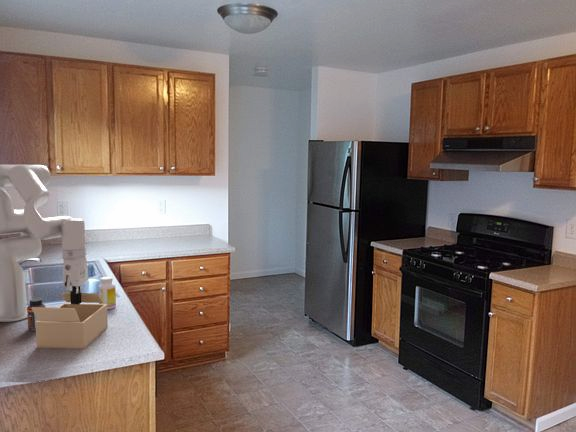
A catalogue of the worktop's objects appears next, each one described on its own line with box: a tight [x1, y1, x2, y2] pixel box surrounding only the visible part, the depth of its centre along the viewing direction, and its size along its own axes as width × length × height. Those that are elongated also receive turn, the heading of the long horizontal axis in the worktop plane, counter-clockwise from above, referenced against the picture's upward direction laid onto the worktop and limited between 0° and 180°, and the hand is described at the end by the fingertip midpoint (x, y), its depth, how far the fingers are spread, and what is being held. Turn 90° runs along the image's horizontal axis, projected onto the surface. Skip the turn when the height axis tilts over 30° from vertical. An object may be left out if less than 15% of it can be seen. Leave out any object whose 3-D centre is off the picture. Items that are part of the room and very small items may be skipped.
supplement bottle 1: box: [27, 297, 46, 332], centre depth 173 cm, size 6×6×11 cm
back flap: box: [59, 292, 103, 304], centre depth 173 cm, size 14×6×1 cm
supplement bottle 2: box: [98, 276, 117, 310], centre depth 199 cm, size 7×7×13 cm
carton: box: [35, 302, 109, 350], centre depth 166 cm, size 16×20×9 cm
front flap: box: [32, 307, 80, 322], centre depth 154 cm, size 14×6×1 cm
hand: (76, 303), depth 168 cm, fingers closed
